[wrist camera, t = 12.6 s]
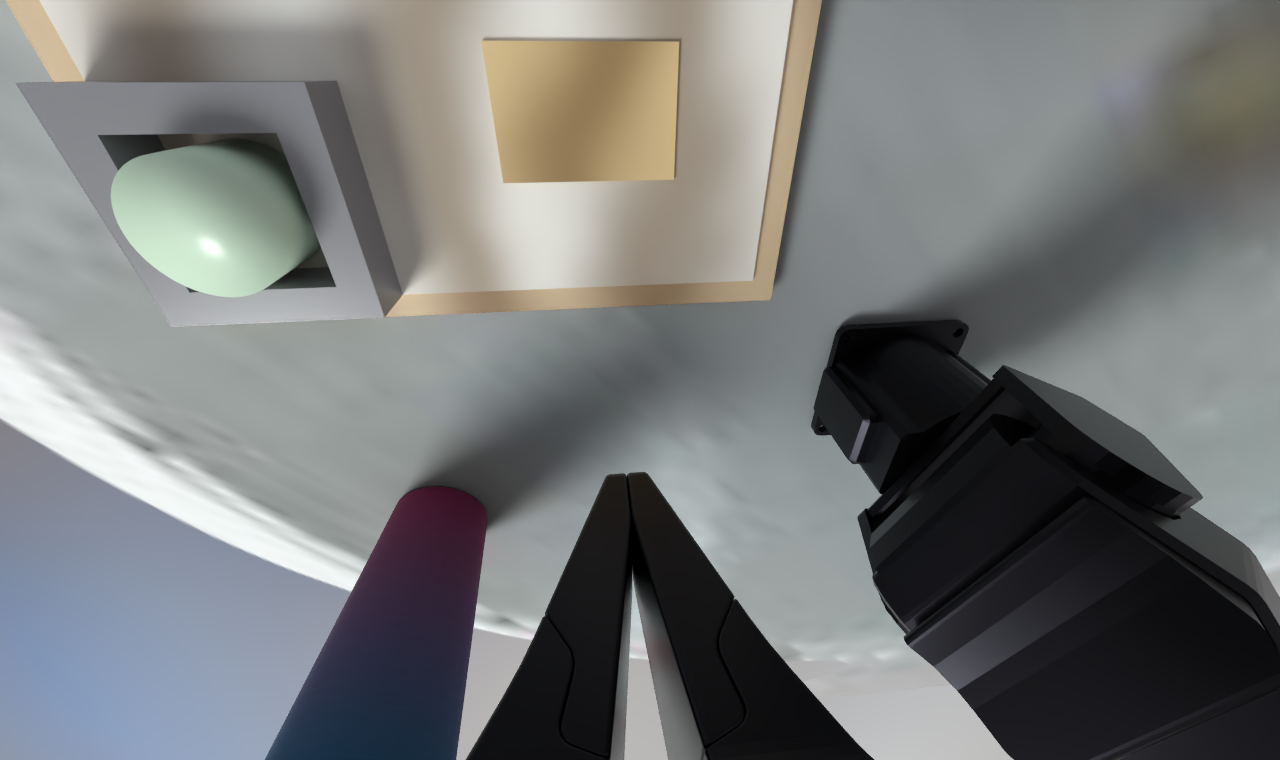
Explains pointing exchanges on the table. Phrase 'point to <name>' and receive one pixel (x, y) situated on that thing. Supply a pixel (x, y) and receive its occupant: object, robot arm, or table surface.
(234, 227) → the button
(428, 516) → the cup
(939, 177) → the table surface
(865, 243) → the table surface
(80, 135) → the button housing
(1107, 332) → the table surface
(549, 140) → the beige flat board
